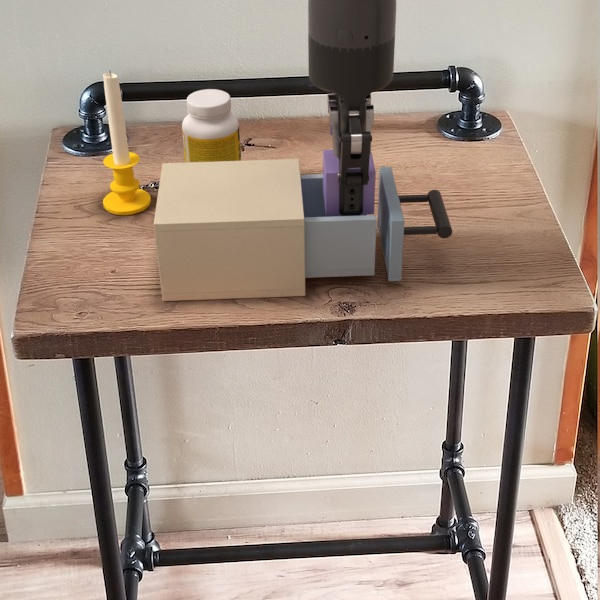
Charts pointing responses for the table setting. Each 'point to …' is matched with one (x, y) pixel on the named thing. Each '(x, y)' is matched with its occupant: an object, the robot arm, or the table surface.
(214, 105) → the pill bottle
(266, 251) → the drawer cabinet
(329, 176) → the block
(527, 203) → the table surface
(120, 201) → the candle
